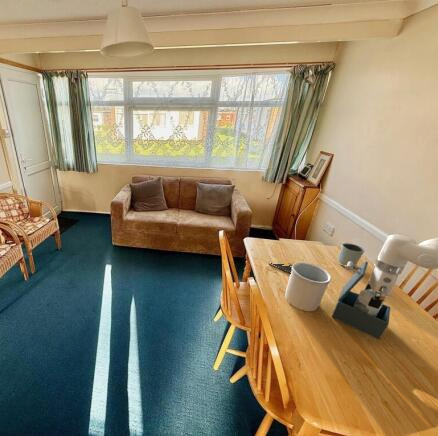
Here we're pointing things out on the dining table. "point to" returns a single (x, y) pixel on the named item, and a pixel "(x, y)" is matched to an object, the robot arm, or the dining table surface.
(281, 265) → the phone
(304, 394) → the dining table surface
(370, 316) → the chest
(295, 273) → the utensil holder
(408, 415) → the dining table surface
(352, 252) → the grey-green pot
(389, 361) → the dining table surface
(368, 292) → the syrup box
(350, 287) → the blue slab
